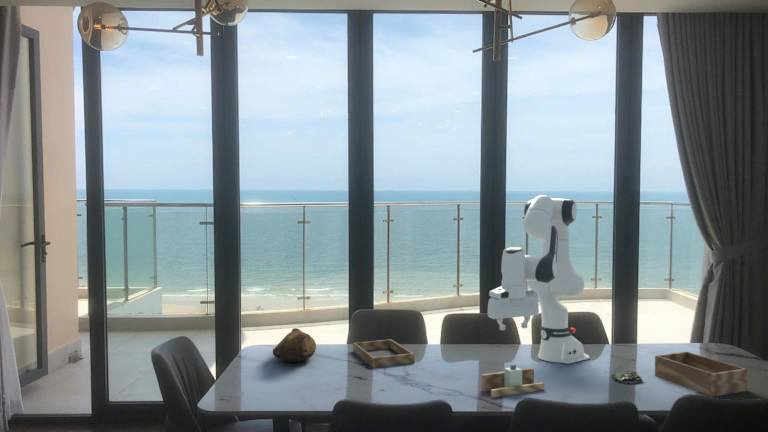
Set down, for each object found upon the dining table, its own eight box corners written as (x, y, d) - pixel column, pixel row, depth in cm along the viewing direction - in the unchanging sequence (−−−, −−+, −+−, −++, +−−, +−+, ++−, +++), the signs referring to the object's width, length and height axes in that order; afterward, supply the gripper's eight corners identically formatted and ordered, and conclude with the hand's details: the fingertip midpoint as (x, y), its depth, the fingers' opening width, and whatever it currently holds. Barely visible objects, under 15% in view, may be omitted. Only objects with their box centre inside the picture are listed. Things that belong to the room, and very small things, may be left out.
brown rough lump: (306, 372, 233) (305, 336, 233) (262, 371, 235) (262, 335, 234) (324, 348, 270) (324, 317, 269) (286, 348, 272) (286, 316, 271)
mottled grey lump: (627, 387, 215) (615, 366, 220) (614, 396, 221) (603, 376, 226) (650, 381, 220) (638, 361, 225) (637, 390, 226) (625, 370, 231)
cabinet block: (515, 387, 214) (516, 362, 214) (522, 391, 210) (522, 365, 210) (504, 389, 212) (504, 364, 212) (510, 392, 208) (510, 367, 208)
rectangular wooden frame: (391, 347, 272) (391, 339, 272) (414, 362, 247) (414, 353, 246) (353, 351, 265) (353, 343, 265) (373, 367, 240) (373, 358, 240)
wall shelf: (531, 383, 219) (531, 367, 219) (544, 389, 212) (544, 373, 211) (481, 390, 211) (481, 374, 211) (492, 397, 204) (493, 380, 203)
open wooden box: (686, 370, 234) (686, 351, 234) (746, 390, 210) (747, 369, 210) (654, 375, 228) (655, 355, 228) (713, 396, 204) (713, 374, 204)
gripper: (532, 288, 217) (532, 324, 217) (485, 292, 209) (485, 329, 210) (542, 291, 211) (542, 328, 211) (494, 294, 203) (494, 333, 204)
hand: (513, 328), depth 210 cm, fingers open, 8 cm apart
